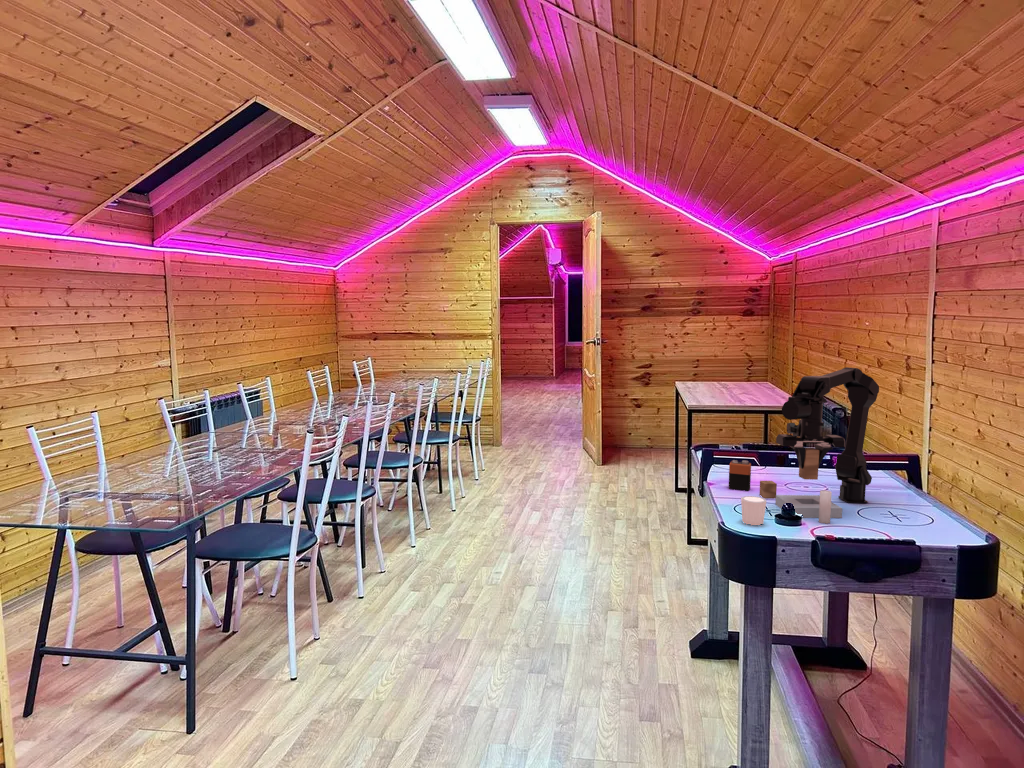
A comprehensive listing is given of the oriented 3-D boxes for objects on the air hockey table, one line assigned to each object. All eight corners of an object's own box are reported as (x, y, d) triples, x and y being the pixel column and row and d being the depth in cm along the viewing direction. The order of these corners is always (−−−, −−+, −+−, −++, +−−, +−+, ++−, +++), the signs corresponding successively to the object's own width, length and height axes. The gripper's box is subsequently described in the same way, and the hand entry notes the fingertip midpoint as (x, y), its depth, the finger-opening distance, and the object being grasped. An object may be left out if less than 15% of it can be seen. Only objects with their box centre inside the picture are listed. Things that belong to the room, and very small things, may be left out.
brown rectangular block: (817, 479, 193) (819, 450, 193) (804, 479, 193) (806, 450, 193) (811, 476, 197) (813, 447, 197) (798, 476, 197) (800, 447, 197)
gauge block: (819, 504, 203) (821, 476, 202) (851, 523, 183) (852, 493, 182) (775, 504, 203) (776, 476, 202) (802, 523, 183) (803, 492, 183)
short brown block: (771, 495, 214) (772, 480, 213) (776, 498, 210) (776, 483, 209) (759, 495, 214) (760, 480, 213) (763, 498, 210) (764, 483, 209)
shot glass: (753, 527, 180) (754, 503, 179) (735, 521, 186) (735, 497, 185) (770, 524, 183) (771, 500, 182) (751, 517, 189) (752, 494, 188)
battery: (749, 491, 218) (750, 462, 217) (728, 489, 221) (729, 460, 220) (750, 488, 222) (751, 460, 221) (729, 486, 225) (730, 458, 224)
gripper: (829, 414, 202) (826, 463, 203) (770, 413, 202) (768, 462, 203) (847, 419, 190) (844, 471, 192) (784, 419, 191) (782, 470, 192)
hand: (808, 468), depth 195 cm, fingers closed on brown rectangular block, 4 cm apart
